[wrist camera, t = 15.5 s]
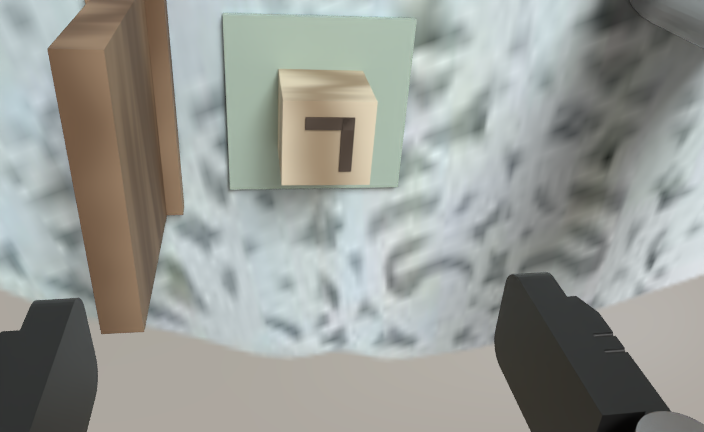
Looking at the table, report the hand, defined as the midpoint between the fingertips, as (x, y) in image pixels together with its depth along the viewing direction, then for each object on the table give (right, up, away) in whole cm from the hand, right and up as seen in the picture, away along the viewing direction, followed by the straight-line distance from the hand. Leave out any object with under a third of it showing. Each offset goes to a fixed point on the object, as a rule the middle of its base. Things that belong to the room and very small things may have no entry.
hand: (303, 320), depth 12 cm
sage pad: (-1, +9, +27) cm, 28 cm away
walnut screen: (-12, +9, +25) cm, 29 cm away
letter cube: (-1, +9, +26) cm, 28 cm away
